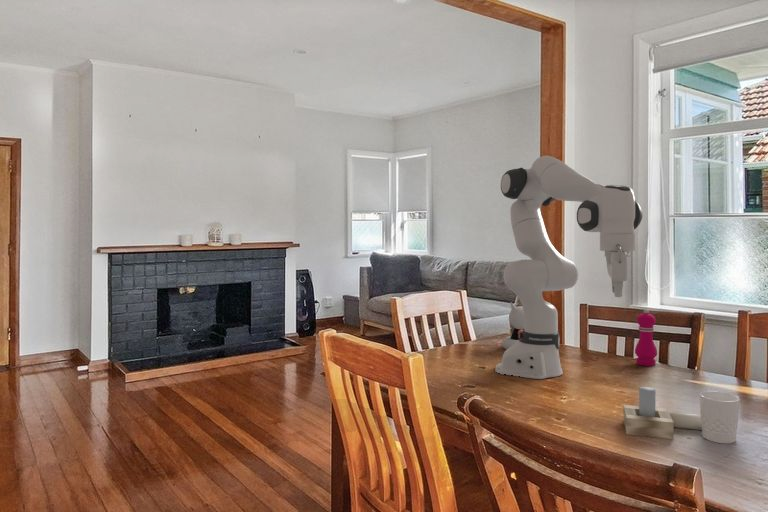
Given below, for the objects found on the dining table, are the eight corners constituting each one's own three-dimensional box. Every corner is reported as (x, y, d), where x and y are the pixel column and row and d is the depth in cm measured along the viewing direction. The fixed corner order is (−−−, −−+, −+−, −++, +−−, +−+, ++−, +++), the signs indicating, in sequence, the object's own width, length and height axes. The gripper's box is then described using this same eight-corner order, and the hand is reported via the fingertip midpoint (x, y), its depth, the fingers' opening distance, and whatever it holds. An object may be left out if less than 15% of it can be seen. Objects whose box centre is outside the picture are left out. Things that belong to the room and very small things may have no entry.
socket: (626, 434, 128) (626, 417, 128) (623, 420, 138) (623, 404, 137) (673, 439, 125) (673, 422, 125) (666, 424, 134) (666, 408, 134)
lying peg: (667, 409, 133) (665, 414, 136) (669, 423, 131) (667, 428, 134) (713, 413, 129) (710, 418, 132) (715, 428, 128) (712, 433, 130)
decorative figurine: (532, 345, 226) (532, 298, 225) (544, 353, 211) (544, 303, 210) (498, 346, 225) (497, 299, 224) (508, 354, 211) (507, 304, 210)
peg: (639, 430, 130) (640, 390, 130) (638, 425, 134) (638, 386, 133) (656, 432, 129) (656, 391, 128) (654, 427, 132) (654, 387, 132)
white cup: (691, 432, 129) (692, 391, 128) (722, 431, 129) (723, 390, 129) (714, 445, 121) (715, 402, 120) (747, 444, 121) (748, 400, 121)
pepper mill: (659, 366, 188) (660, 310, 187) (637, 366, 190) (638, 310, 189) (653, 361, 195) (654, 307, 194) (632, 361, 197) (632, 307, 196)
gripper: (633, 245, 135) (633, 299, 136) (626, 243, 154) (626, 290, 155) (606, 245, 137) (606, 299, 138) (603, 243, 156) (602, 290, 157)
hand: (616, 294), depth 147 cm, fingers open, 8 cm apart
